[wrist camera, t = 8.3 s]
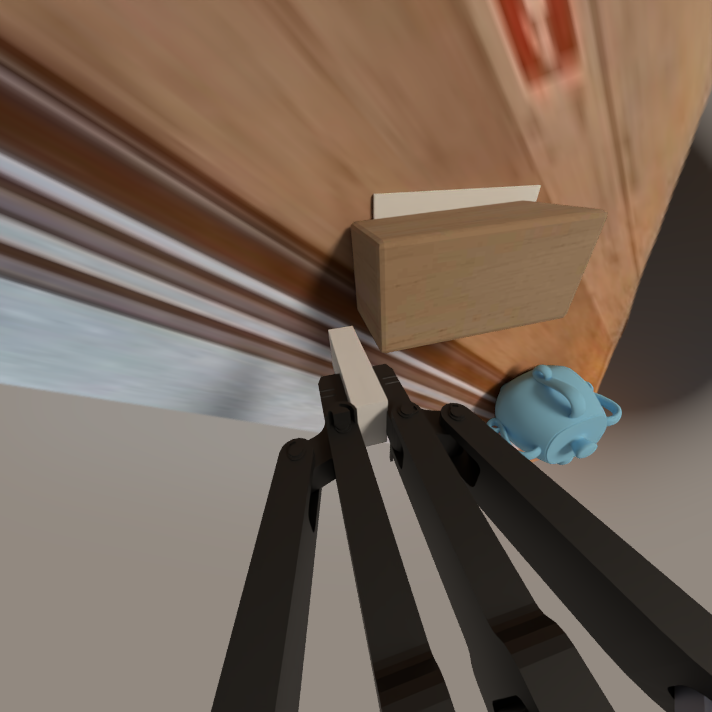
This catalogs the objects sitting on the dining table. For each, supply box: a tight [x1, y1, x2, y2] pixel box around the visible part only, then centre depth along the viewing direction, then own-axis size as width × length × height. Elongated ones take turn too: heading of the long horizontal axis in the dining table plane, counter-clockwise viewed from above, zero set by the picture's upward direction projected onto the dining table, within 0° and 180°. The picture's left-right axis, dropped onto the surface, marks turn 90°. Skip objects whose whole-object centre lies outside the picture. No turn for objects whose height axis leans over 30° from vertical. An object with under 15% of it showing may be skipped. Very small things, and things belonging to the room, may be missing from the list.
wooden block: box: [351, 200, 607, 353], centre depth 27 cm, size 10×10×20 cm
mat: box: [373, 185, 541, 219], centre depth 32 cm, size 15×19×1 cm
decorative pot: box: [487, 365, 622, 465], centre depth 45 cm, size 16×16×14 cm
